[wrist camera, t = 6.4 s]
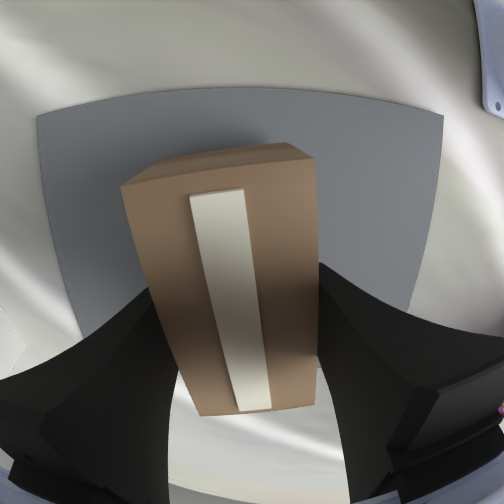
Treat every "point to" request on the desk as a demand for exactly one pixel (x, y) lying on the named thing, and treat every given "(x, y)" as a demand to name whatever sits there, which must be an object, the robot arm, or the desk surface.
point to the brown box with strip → (233, 272)
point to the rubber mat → (231, 136)
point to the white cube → (8, 346)
